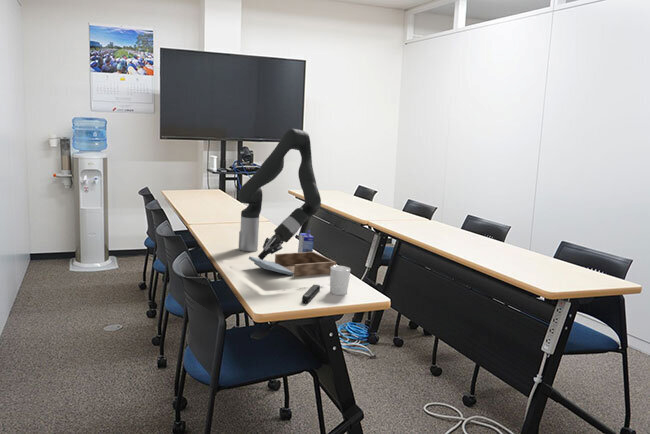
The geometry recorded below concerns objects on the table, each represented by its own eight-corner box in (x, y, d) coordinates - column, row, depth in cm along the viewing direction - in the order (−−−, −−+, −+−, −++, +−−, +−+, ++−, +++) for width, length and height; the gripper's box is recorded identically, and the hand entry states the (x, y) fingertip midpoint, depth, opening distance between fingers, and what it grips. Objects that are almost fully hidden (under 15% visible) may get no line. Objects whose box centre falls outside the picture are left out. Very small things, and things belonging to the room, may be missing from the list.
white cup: (347, 290, 211) (349, 266, 210) (349, 296, 204) (351, 271, 202) (328, 289, 211) (330, 265, 210) (328, 295, 203) (330, 270, 202)
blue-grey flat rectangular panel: (276, 263, 235) (249, 256, 228) (294, 272, 221) (265, 266, 214) (275, 267, 235) (248, 260, 228) (292, 277, 221) (264, 270, 214)
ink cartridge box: (312, 261, 254) (314, 232, 251) (301, 261, 252) (303, 232, 250) (307, 256, 263) (309, 228, 261) (297, 256, 261) (299, 228, 259)
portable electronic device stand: (313, 290, 209) (314, 283, 208) (319, 291, 208) (320, 284, 208) (301, 304, 191) (301, 296, 191) (308, 305, 191) (308, 297, 190)
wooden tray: (312, 265, 247) (313, 251, 246) (335, 276, 230) (336, 262, 229) (274, 268, 237) (275, 254, 236) (295, 280, 220) (295, 265, 219)
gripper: (275, 220, 229) (248, 249, 225) (289, 226, 218) (260, 256, 214) (285, 231, 233) (258, 260, 229) (299, 238, 222) (271, 268, 217)
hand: (259, 258), depth 221 cm, fingers closed
